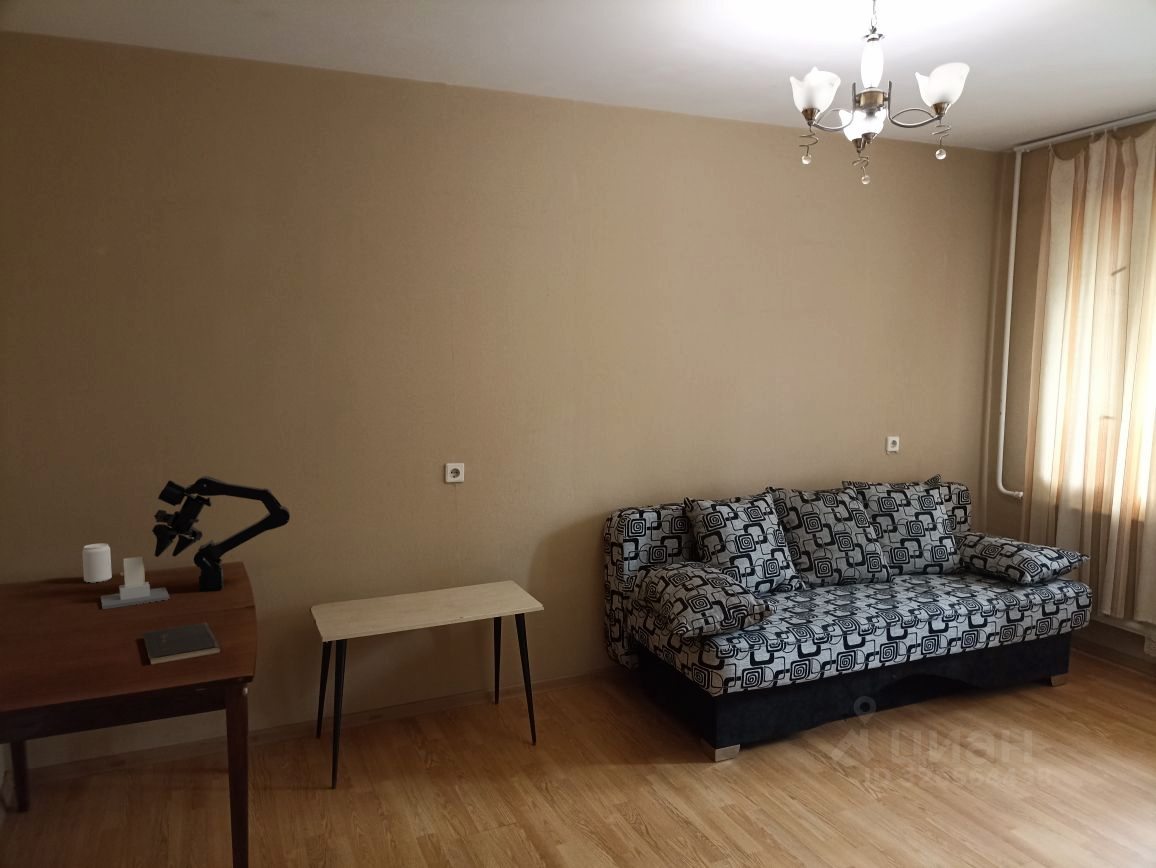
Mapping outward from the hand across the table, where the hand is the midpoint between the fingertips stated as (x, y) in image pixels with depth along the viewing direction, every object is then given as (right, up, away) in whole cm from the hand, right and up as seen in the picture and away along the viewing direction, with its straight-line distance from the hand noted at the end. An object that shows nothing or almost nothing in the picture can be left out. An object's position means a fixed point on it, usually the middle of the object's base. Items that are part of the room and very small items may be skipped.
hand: (164, 556), depth 260 cm
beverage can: (-31, -11, +17) cm, 37 cm away
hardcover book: (+29, -16, -50) cm, 60 cm away
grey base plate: (-6, -12, -7) cm, 15 cm away
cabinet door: (-6, -11, -7) cm, 15 cm away
